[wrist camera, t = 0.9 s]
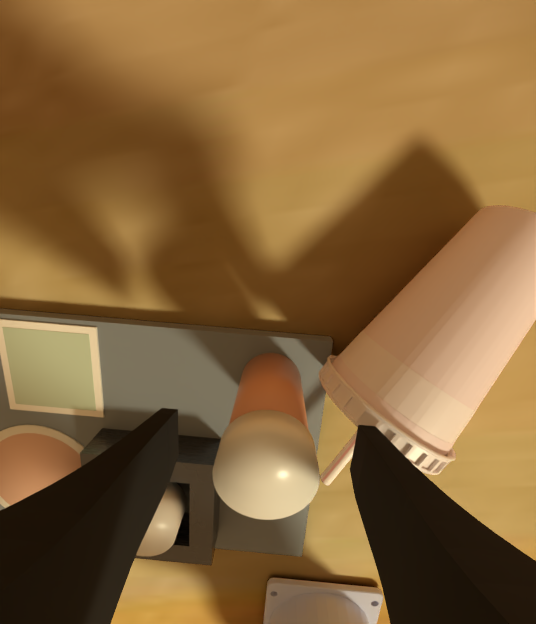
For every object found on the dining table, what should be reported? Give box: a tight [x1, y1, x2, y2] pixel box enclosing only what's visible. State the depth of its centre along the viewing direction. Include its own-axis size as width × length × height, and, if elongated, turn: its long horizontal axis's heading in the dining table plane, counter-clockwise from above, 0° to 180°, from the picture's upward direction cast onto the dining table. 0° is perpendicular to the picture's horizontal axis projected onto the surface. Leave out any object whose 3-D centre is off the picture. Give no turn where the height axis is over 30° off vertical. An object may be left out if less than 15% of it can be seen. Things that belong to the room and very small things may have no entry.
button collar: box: [80, 428, 221, 565], centre depth 17 cm, size 7×7×2 cm
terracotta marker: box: [212, 353, 320, 520], centre depth 13 cm, size 4×4×6 cm
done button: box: [136, 482, 187, 557], centre depth 16 cm, size 4×4×2 cm
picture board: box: [0, 308, 333, 557], centre depth 18 cm, size 15×20×1 cm
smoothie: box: [319, 205, 536, 485], centre depth 13 cm, size 6×6×14 cm
